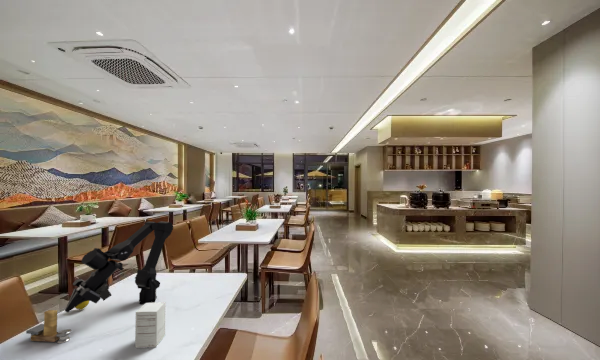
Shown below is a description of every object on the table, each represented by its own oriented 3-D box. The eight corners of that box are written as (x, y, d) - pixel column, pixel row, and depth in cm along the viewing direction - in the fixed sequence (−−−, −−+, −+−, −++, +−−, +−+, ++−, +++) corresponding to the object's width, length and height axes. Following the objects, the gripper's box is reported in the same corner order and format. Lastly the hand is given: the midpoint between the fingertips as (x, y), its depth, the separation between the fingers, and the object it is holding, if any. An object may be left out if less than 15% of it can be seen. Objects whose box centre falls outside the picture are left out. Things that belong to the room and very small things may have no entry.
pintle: (73, 336, 95) (73, 328, 95) (68, 342, 91) (68, 334, 91) (59, 338, 93) (59, 330, 93) (53, 345, 89) (53, 336, 90)
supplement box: (145, 336, 95) (146, 302, 95) (165, 335, 96) (166, 301, 96) (134, 348, 88) (134, 311, 88) (156, 347, 88) (157, 311, 89)
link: (63, 336, 94) (64, 309, 94) (54, 342, 91) (55, 313, 91) (40, 335, 94) (41, 308, 95) (30, 340, 91) (31, 312, 91)
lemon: (80, 313, 112) (80, 295, 112) (69, 312, 113) (70, 294, 113) (92, 307, 117) (93, 290, 117) (82, 306, 118) (83, 289, 118)
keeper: (52, 334, 95) (52, 325, 96) (37, 342, 91) (38, 331, 91) (40, 333, 96) (41, 323, 96) (25, 341, 92) (26, 330, 92)
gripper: (125, 289, 103) (90, 329, 94) (112, 278, 115) (80, 312, 106) (101, 275, 97) (62, 316, 88) (90, 265, 109) (54, 300, 100)
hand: (66, 311), depth 96 cm, fingers closed
